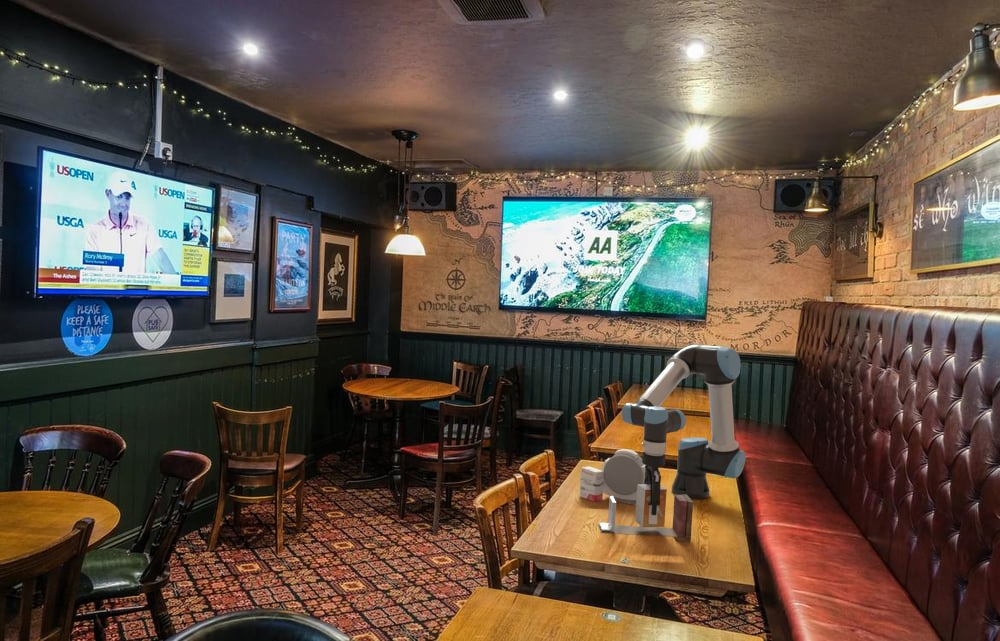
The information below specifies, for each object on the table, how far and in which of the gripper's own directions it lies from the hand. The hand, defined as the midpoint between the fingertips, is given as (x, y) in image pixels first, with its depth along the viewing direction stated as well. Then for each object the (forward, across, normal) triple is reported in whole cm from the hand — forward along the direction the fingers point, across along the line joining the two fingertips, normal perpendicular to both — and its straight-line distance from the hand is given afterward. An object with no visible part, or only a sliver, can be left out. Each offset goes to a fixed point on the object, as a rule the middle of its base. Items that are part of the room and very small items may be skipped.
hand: (650, 519), depth 221 cm
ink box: (+6, -37, -15) cm, 41 cm away
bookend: (+4, 0, -15) cm, 15 cm away
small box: (+2, 0, 0) cm, 2 cm away
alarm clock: (+6, -36, -2) cm, 37 cm away
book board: (+5, 0, -2) cm, 6 cm away
